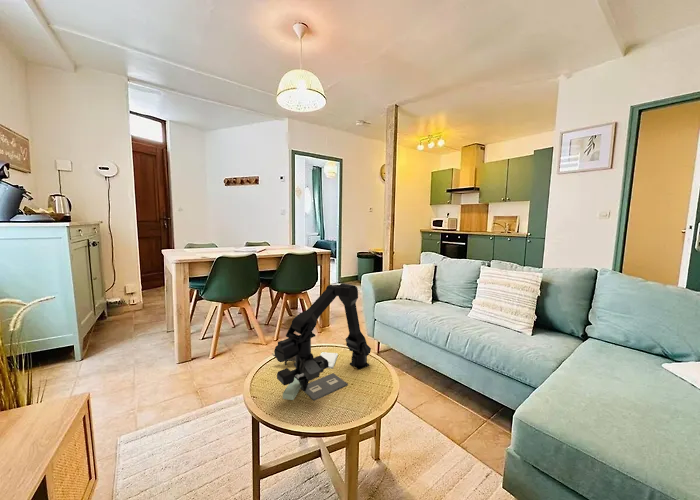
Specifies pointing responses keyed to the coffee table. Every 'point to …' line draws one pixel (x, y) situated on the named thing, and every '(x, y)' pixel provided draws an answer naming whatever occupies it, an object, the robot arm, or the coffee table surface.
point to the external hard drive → (330, 358)
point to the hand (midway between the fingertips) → (304, 390)
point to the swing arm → (292, 390)
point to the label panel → (324, 386)
